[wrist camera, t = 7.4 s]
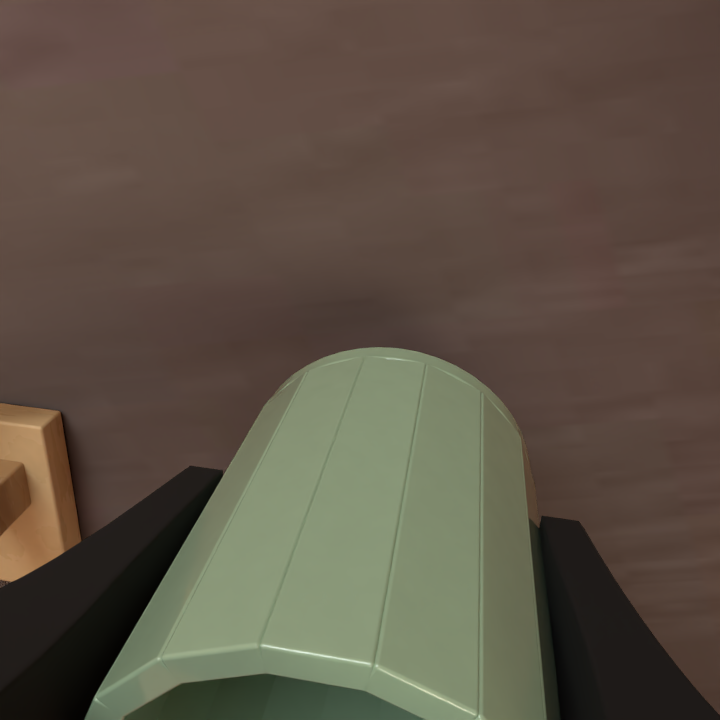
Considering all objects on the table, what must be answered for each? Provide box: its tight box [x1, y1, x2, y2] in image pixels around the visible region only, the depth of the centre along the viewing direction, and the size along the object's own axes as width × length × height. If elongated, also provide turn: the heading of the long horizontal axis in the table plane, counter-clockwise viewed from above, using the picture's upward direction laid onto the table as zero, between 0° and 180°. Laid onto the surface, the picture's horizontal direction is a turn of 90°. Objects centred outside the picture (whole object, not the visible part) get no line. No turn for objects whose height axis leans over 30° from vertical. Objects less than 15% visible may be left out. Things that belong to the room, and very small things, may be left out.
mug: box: [84, 347, 561, 720], centre depth 12 cm, size 9×6×7 cm, turn 177°
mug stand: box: [0, 403, 81, 582], centre depth 17 cm, size 12×6×8 cm, turn 87°
